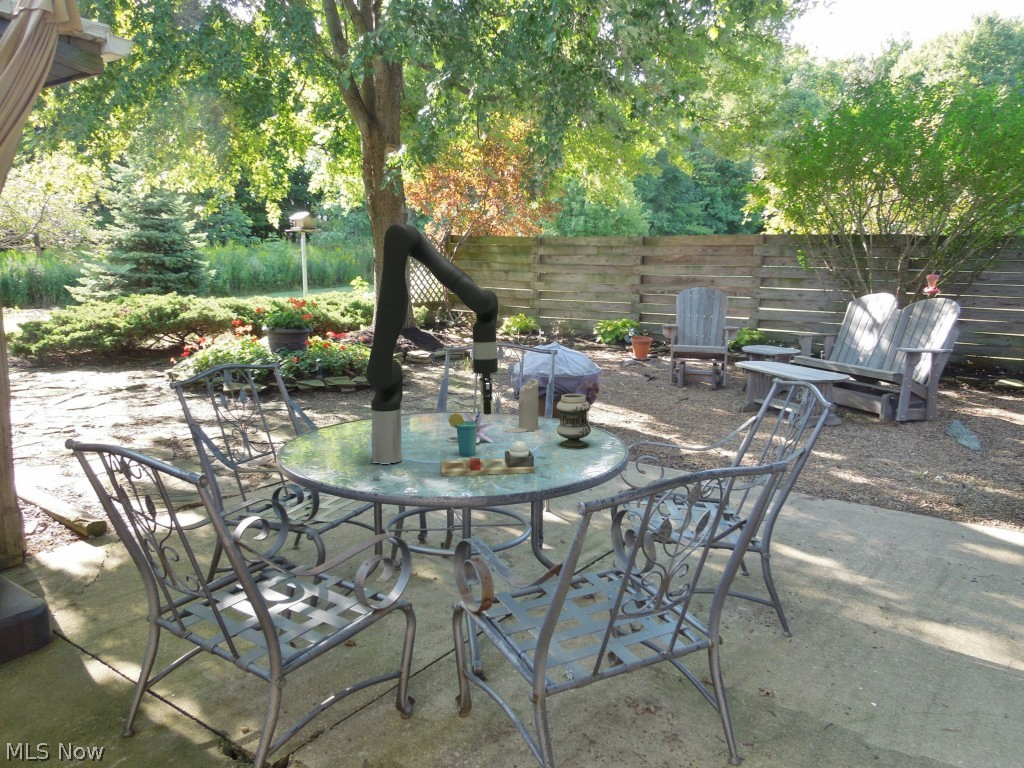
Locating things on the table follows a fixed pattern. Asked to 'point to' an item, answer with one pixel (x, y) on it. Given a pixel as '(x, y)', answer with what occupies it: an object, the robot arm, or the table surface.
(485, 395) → the pawn
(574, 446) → the apothecary jar
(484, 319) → the robot arm
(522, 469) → the board
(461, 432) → the cup
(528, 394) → the candle
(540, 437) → the table surface
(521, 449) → the pale round cylinder
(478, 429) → the water lily
